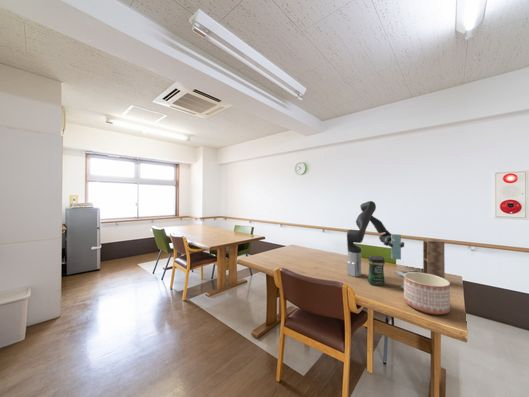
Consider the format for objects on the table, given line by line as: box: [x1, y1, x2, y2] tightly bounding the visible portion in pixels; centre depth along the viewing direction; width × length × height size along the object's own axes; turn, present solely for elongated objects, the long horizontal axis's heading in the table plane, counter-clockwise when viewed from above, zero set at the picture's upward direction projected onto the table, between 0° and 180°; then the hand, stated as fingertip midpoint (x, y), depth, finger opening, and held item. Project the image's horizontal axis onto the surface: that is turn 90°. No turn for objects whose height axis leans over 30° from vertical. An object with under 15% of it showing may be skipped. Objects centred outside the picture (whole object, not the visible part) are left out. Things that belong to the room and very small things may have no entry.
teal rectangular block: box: [390, 233, 402, 260], centre depth 156 cm, size 6×4×18 cm, turn 72°
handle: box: [394, 270, 404, 290], centre depth 127 cm, size 18×8×20 cm
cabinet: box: [400, 238, 446, 279], centre depth 148 cm, size 21×18×28 cm
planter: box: [403, 271, 451, 316], centre depth 111 cm, size 19×19×15 cm
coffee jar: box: [367, 255, 386, 287], centre depth 140 cm, size 10×8×19 cm
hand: (396, 246), depth 154 cm, fingers closed on teal rectangular block, 5 cm apart
